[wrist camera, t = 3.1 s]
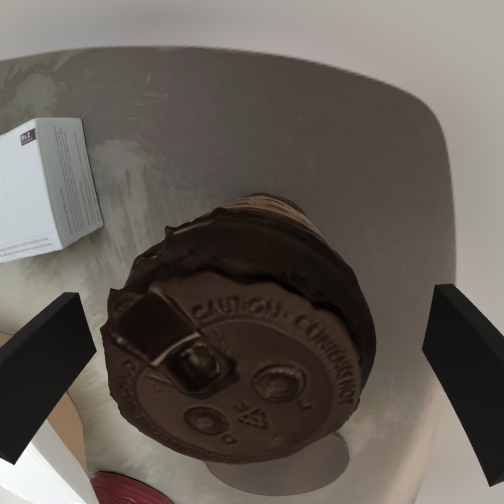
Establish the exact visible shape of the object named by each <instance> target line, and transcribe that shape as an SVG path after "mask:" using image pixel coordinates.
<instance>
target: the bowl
mask: <svg viewBox="0 0 504 504" xmlns="http://www.w3.org/2000/svg"><path fill="white" fill-rule="evenodd" d="M12 336H14V335H11V334H5V333H0V347H1V346H2V345H4V344H5V343H6V342H7V341H8V340H9V339H10V338H11V337H12ZM0 486H2V487H3V488H5V489H7V490H8V491H10V492H11V493H13V494H15V495H16V496H19V497H20V498H22V499H24V500H26V501H27V502H29V503H31V504H99V502H98V499H97V497H96V495H95V492H94V490H93V488H92V485H91V483H90V480H89V478H88V471H87V463H86V455H85V446H84V436H83V424H82V421H81V419H80V416H79V413H78V411H77V409H76V407H75V406H74V404H73V402H72V401H71V399H70V397H69V395H68V394H67V392H65V394H64V395H63V397H62V398H61V399H60V401H59V402H58V403H57V405H56V406H55V408H54V409H53V410H52V412H51V413H50V414H49V416H48V417H47V419H46V420H45V421H44V423H43V424H42V426H41V427H40V429H39V430H38V431H37V433H36V434H35V436H34V437H33V439H32V440H31V441H30V443H29V444H28V446H27V447H26V449H25V450H24V452H23V453H22V455H21V456H20V458H19V459H18V461H17V462H16V464H15V465H12V464H11V463H9V462H7V461H5V460H3V459H1V458H0Z"/></svg>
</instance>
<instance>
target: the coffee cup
mask: <svg viewBox="0 0 504 504" xmlns="http://www.w3.org/2000/svg"><path fill="white" fill-rule="evenodd" d="M107 311H108V319H107V322H106V323H105V324H104V325H103V326H102V327H101V328H100V331H101V335H102V340H103V347H104V349H105V351H104V354H105V363H106V368H107V372H108V383H109V384H108V386H109V390H110V395H111V396H112V398H113V399H114V400H115V401H116V402H117V404H118V409H119V410H120V414H121V415H122V416H123V417H124V418H125V419H126V420H127V421H128V422H129V423H130V424H131V425H133V426H135V427H136V428H137V429H138V430H139V431H140V432H142V433H143V434H145V435H147V436H148V437H150V438H152V439H154V440H156V441H157V442H159V443H161V444H162V445H164V446H166V447H168V448H170V449H172V450H173V451H175V452H178V453H180V454H183V455H186V456H189V457H193V458H196V459H199V460H202V461H209V462H215V463H224V464H229V465H243V464H250V463H260V462H267V461H271V460H276V459H281V458H286V457H290V456H292V455H294V454H295V453H297V452H300V451H301V450H302V449H304V448H305V447H307V446H309V445H310V444H312V443H314V442H316V441H318V440H320V439H322V438H324V437H326V436H328V435H329V434H331V433H332V432H334V431H336V430H338V429H339V428H340V427H342V426H343V424H344V423H345V422H346V421H347V420H348V419H349V417H350V416H351V415H352V413H353V412H354V411H355V410H356V409H357V407H358V404H359V402H360V398H359V396H360V395H361V392H362V390H363V388H364V386H365V385H366V382H367V380H368V377H369V374H370V372H371V369H372V367H373V363H374V358H375V353H376V334H375V328H374V322H373V318H372V316H371V313H370V310H369V307H368V304H367V302H366V300H365V298H364V295H363V293H362V291H361V289H360V286H359V284H358V281H357V278H356V275H355V273H354V272H353V270H352V268H351V267H350V266H349V265H348V264H347V263H345V261H344V260H343V259H342V257H341V256H340V255H339V254H338V253H337V252H336V251H334V250H333V249H332V247H331V245H330V243H329V242H328V241H327V240H326V239H325V237H324V236H323V234H322V233H321V232H320V231H319V229H318V228H317V227H316V226H315V225H314V224H313V223H312V222H311V221H310V220H309V219H308V218H307V217H306V215H305V214H304V212H303V211H302V210H301V209H300V208H299V207H298V206H297V205H295V204H294V203H293V202H291V201H289V200H287V199H284V198H282V197H279V196H276V195H272V194H268V193H253V194H251V195H248V196H245V197H242V198H240V199H236V200H234V201H232V202H230V203H228V204H225V205H222V206H221V207H217V208H216V209H213V210H211V211H209V212H208V213H206V214H205V215H203V216H201V217H199V218H196V219H195V220H194V221H192V222H187V223H184V224H182V225H180V226H179V227H169V226H166V228H165V239H164V240H163V241H162V242H161V243H158V244H156V245H154V246H152V247H151V248H149V249H148V250H147V251H145V252H144V253H143V254H141V255H139V256H137V258H136V259H135V260H134V263H133V265H132V268H131V272H130V275H129V277H128V279H127V281H126V284H125V286H124V288H122V289H120V290H116V289H112V288H110V294H109V298H108V301H107Z"/></svg>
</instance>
